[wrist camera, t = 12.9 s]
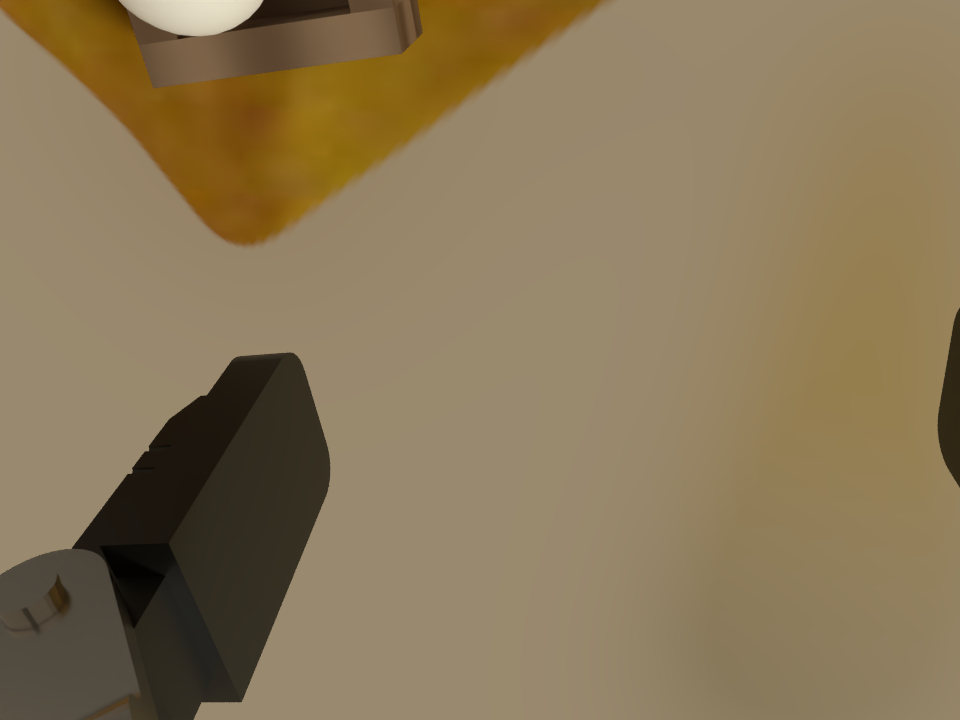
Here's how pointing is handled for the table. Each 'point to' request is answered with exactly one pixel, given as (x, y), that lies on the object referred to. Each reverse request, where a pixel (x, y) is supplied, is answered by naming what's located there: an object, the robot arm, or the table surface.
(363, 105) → the table surface
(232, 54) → the socket block
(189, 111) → the table surface
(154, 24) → the lightbulb
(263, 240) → the table surface
